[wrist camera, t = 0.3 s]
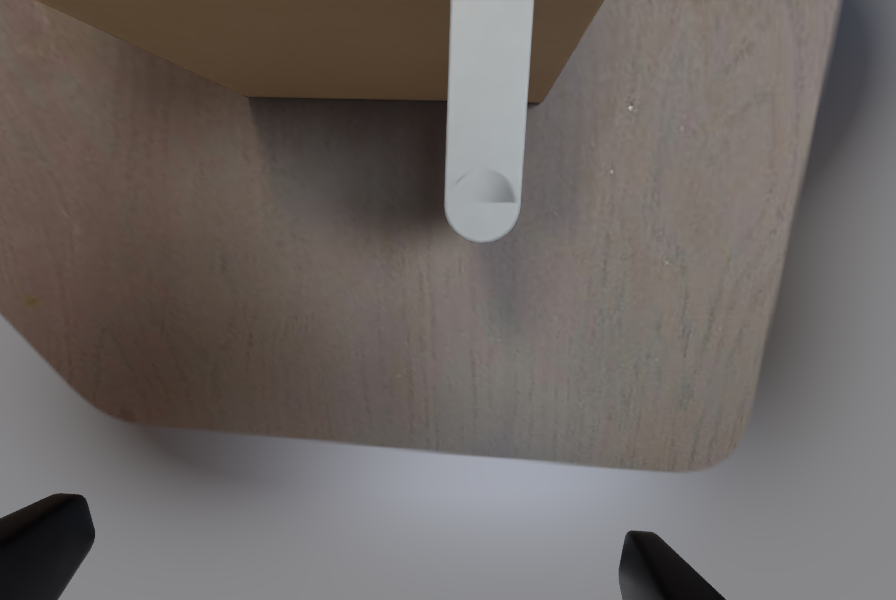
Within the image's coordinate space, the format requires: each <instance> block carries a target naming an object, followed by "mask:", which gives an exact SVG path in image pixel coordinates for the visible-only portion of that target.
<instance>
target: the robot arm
mask: <svg viewBox="0 0 896 600" xmlns="http://www.w3.org/2000/svg"><path fill="white" fill-rule="evenodd" d="M94 539H95V529H94V526H93V522H92V518H91V515H90V511H89V507H88V504H87V501H86V499H85V498H84V497H83V496H82V495H78V494H63V493H60V494H54V495H51V496H49V497H46V498H44V499H42V500H40V501H38V502H35V503H33V504H31V505H29V506H27V507H24V508H22V509H20V510H18V511H16V512H13V513H11V514H9V515H7V516H5V517H2V518H0V600H58V599H59V597H60V596H61V594H62V592H63V591H64V589H65V588H66V586H67V585H68V583H69V582H70V580H71V579H72V577H73V576H74V574H75V572H76V571H77V569H78V568H79V566H80V565H81V563H82V561H83V560H84V559H85V557H86V555H87V554H88V552H89V551H90V549H91V547H92V545H93V543H94ZM619 584H620V589H621V594H622V599H623V600H726V599H725V598H724V597H722V595H721V594H719V593H718V592H717V591H716V590H715V589H714V588H713V587H712V586H711V585H710V584H709V583H708V582H707V581H706V580H705V579H704V578H703V577H701V576H700V575H699V574H698V573H697V572H696V571H695V570H694V569H693V568H692V567H691V566H690V565H689V564H688V563H687V562H685V561H684V560H683V559H682V558H681V557H680V556H679V555H678V554H677V553H676V552H675V551H674V550H673V549H672V548H671V547H670V546H668V544H666V543H665V542H664V541H663V540H662V539H661V538H660V537H659V536H658V535H656V534H655V533H653V532H646V531H645V532H644V531H629V532H628V533H627V534H626V536H625V540H624V545H623V550H622V556H621V560H620V566H619Z"/></svg>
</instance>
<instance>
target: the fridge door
mask: <svg viewBox="0 0 896 600" xmlns="http://www.w3.org/2000/svg"><path fill="white" fill-rule="evenodd" d="M37 1H39V2H41V3H43V4H45V5H48V6H50V7H52V8H54V9H56V10H59V11H61V12H63V13H65V14H67V15H69V16H72V17H74V18H76V19H78V20H80V21H82V22H85V23H87V24H89V25H91V26H93V27H95V28H98V29H100V30H102V31H104V32H106V33H109V34H111V35H113V36H115V37H117V38H119V39H122V40H124V41H126V42H128V43H130V44H132V45H135V46H137V47H139V48H141V49H143V50H145V51H148V52H150V53H152V54H154V55H156V56H158V57H161V58H163V59H165V60H167V61H169V62H172V63H174V64H176V65H178V66H180V67H182V68H185V69H187V70H189V71H191V72H193V73H195V74H198V75H200V76H202V77H204V78H206V79H208V80H211V81H213V82H215V83H217V84H219V85H222V86H224V87H226V88H228V89H230V90H232V91H235V92H237V93H239V94H241V95H243V96H245V97H284V98H335V99H385V100H435V101H447V124H446V156H445V189H444V210H445V215H446V218H447V221H448V223H449V225H450V226H451V228H452V229H453V230H454V231H455V232H456V233H457V234H458V235H459V236H460V237H462V238H464V239H466V240H468V241H470V242H475V243H489V242H493V241H496V240H498V239H500V238H502V237H503V236H505V235H506V234H507V233H508V232H509V231H510V230H511V229H512V228H513V226H514V225H515V223H516V221H517V219H518V217H519V213H520V207H521V194H522V179H523V163H524V148H525V133H526V118H527V102H536V103H542V102H543V101H544V99H545V97H546V96H547V94H548V92H549V91H550V89H551V87H552V86H553V84H554V82H555V81H556V79H557V77H558V76H559V74H560V72H561V71H562V69H563V68H564V66H565V64H566V63H567V61H568V59H569V58H570V56H571V54H572V53H573V51H574V49H575V48H576V46H577V44H578V43H579V41H580V39H581V38H582V36H583V34H584V33H585V31H586V29H587V28H588V26H589V24H590V23H591V21H592V20H593V18H594V16H595V15H596V13H597V11H598V10H599V8H600V6H601V5H602V3H603V1H604V0H37Z"/></svg>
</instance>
